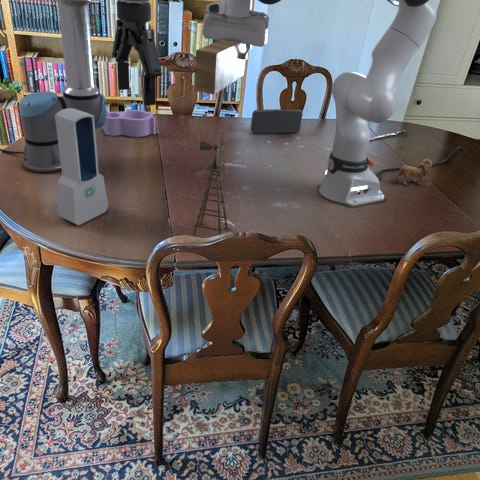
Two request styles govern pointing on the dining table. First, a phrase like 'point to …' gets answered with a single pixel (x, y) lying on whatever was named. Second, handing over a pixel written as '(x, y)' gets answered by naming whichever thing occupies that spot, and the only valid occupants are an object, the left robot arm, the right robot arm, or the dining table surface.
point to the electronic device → (79, 168)
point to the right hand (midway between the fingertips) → (232, 57)
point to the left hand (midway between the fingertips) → (136, 97)
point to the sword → (386, 135)
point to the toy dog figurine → (415, 171)
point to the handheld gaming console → (276, 121)
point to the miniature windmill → (215, 168)
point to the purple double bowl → (130, 123)
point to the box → (218, 65)
